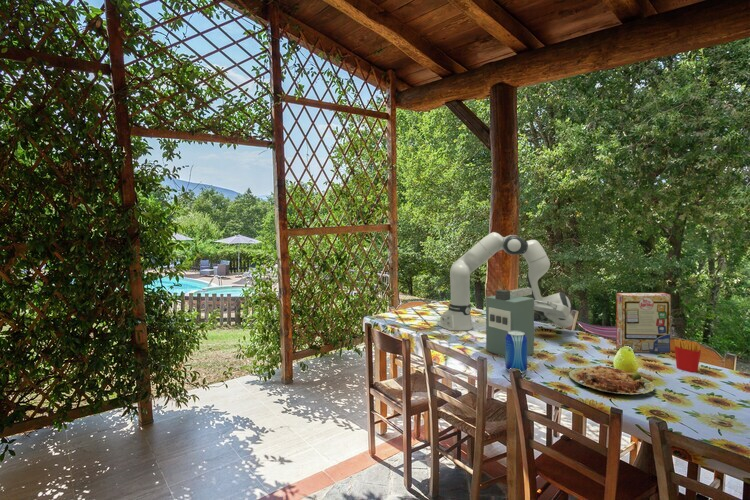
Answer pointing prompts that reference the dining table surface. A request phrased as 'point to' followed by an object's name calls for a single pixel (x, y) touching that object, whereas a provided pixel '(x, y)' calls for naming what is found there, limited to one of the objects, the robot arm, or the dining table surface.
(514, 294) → the lever bar
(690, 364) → the french fries
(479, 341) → the dining table surface
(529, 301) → the switch cabinet
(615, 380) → the rice dish
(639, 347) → the board game box
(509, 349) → the beer can
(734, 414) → the dining table surface
